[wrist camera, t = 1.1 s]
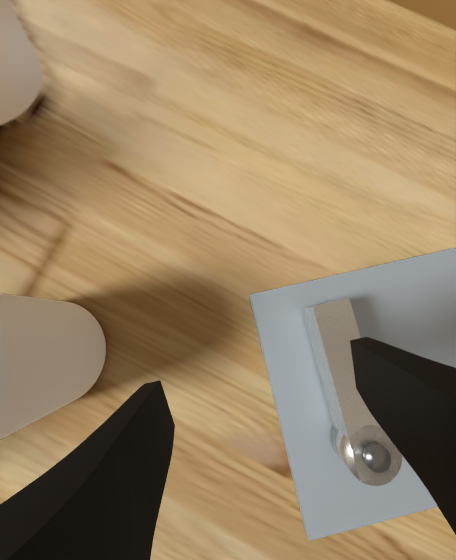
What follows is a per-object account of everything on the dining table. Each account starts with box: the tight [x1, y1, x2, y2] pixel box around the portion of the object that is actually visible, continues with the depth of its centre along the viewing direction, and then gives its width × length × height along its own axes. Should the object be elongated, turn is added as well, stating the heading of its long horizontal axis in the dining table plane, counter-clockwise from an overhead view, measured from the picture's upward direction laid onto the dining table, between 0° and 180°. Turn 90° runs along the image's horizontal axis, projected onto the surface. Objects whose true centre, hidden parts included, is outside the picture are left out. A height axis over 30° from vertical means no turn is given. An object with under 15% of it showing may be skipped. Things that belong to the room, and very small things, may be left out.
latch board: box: [249, 248, 456, 541], centre depth 21 cm, size 18×18×4 cm
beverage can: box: [0, 293, 106, 440], centre depth 17 cm, size 8×8×12 cm
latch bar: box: [302, 298, 402, 486], centre depth 20 cm, size 12×4×3 cm, turn 13°
